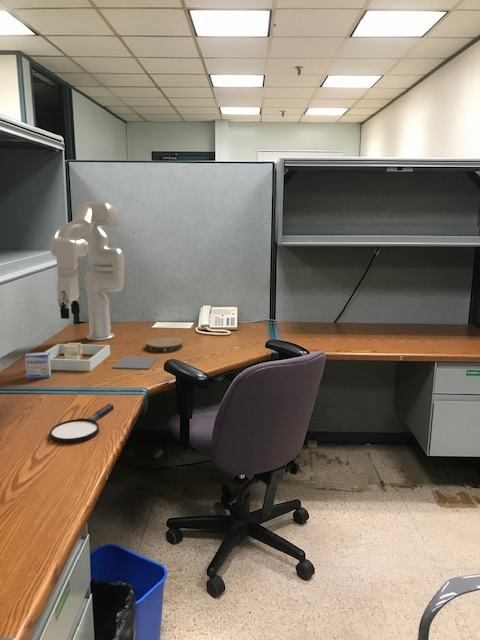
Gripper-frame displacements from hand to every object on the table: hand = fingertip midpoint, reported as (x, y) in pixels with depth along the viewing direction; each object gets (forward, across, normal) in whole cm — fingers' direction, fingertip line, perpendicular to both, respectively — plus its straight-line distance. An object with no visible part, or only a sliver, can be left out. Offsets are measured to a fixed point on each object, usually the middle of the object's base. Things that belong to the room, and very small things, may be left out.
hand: (70, 316), depth 190 cm
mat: (+18, -1, +25) cm, 31 cm away
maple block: (+19, -1, 0) cm, 19 cm away
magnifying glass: (+20, +56, +28) cm, 66 cm away
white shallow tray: (+18, -1, 0) cm, 19 cm away
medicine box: (+19, +18, -5) cm, 27 cm away
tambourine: (+19, -25, +31) cm, 44 cm away
